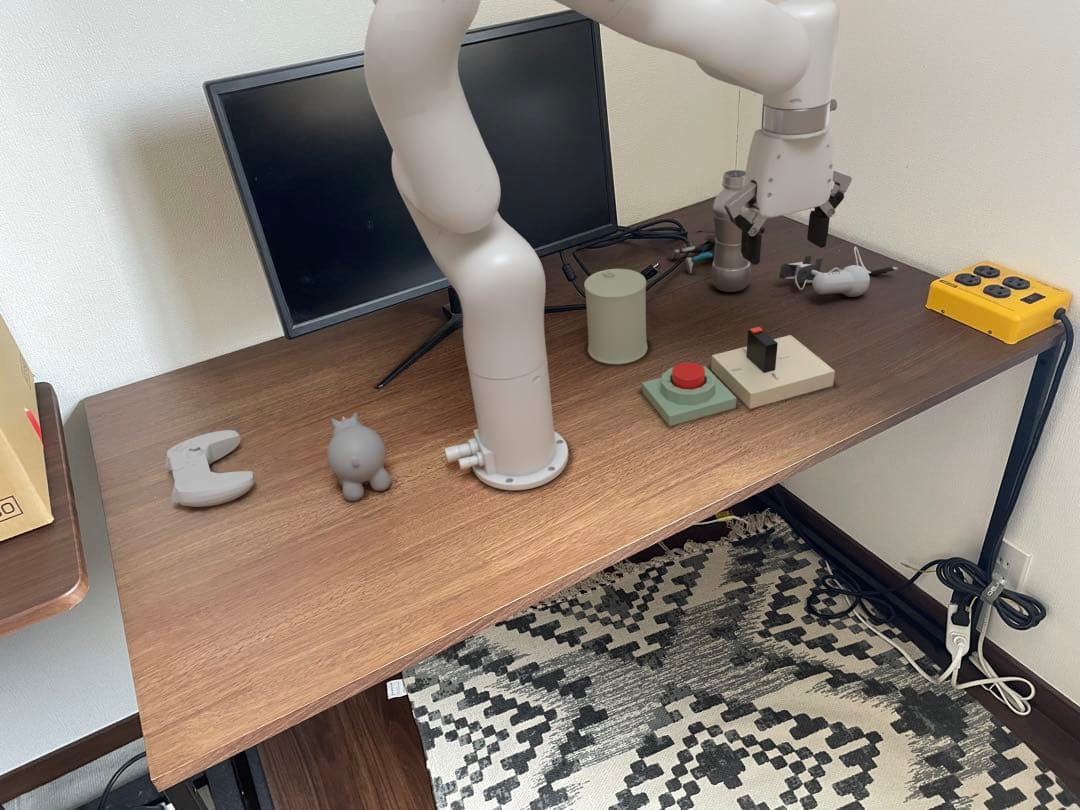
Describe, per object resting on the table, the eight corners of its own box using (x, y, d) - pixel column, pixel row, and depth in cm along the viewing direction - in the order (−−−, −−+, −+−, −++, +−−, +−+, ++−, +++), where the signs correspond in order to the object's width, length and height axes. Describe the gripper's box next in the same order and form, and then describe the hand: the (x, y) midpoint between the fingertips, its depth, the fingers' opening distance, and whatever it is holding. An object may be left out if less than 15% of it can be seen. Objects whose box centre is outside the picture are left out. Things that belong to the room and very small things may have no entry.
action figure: (690, 278, 144) (776, 251, 148) (690, 248, 140) (779, 222, 144) (668, 259, 150) (751, 234, 154) (668, 230, 146) (753, 205, 150)
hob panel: (749, 409, 110) (750, 392, 108) (711, 369, 118) (711, 354, 117) (833, 385, 112) (835, 369, 111) (789, 349, 121) (790, 333, 119)
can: (632, 328, 130) (631, 260, 123) (657, 355, 123) (657, 284, 116) (579, 342, 128) (574, 273, 121) (601, 370, 121) (597, 299, 114)
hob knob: (775, 370, 112) (778, 341, 109) (763, 373, 112) (766, 344, 109) (757, 353, 116) (759, 325, 113) (746, 356, 116) (748, 328, 113)
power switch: (669, 426, 108) (669, 405, 106) (641, 392, 115) (641, 371, 113) (736, 408, 110) (737, 386, 108) (705, 375, 117) (705, 355, 115)
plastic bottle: (750, 297, 135) (758, 180, 124) (709, 296, 137) (713, 181, 125) (750, 279, 140) (757, 166, 129) (710, 279, 142) (714, 167, 130)
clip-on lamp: (849, 277, 144) (772, 284, 136) (857, 242, 141) (779, 246, 133) (903, 296, 134) (823, 304, 127) (912, 259, 132) (832, 265, 124)
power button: (680, 393, 109) (681, 382, 108) (666, 377, 112) (666, 366, 111) (710, 385, 109) (710, 374, 108) (695, 369, 113) (695, 359, 112)
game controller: (257, 476, 102) (171, 492, 97) (260, 504, 104) (176, 521, 99) (236, 420, 113) (158, 432, 108) (239, 447, 115) (162, 460, 110)
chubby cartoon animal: (379, 440, 111) (366, 389, 106) (398, 492, 102) (385, 439, 97) (327, 455, 109) (312, 404, 105) (341, 509, 100) (325, 456, 95)
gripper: (838, 97, 99) (824, 227, 109) (713, 123, 95) (709, 256, 105) (879, 110, 93) (859, 248, 103) (746, 139, 89) (739, 278, 99)
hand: (783, 252), depth 104 cm, fingers open, 9 cm apart
